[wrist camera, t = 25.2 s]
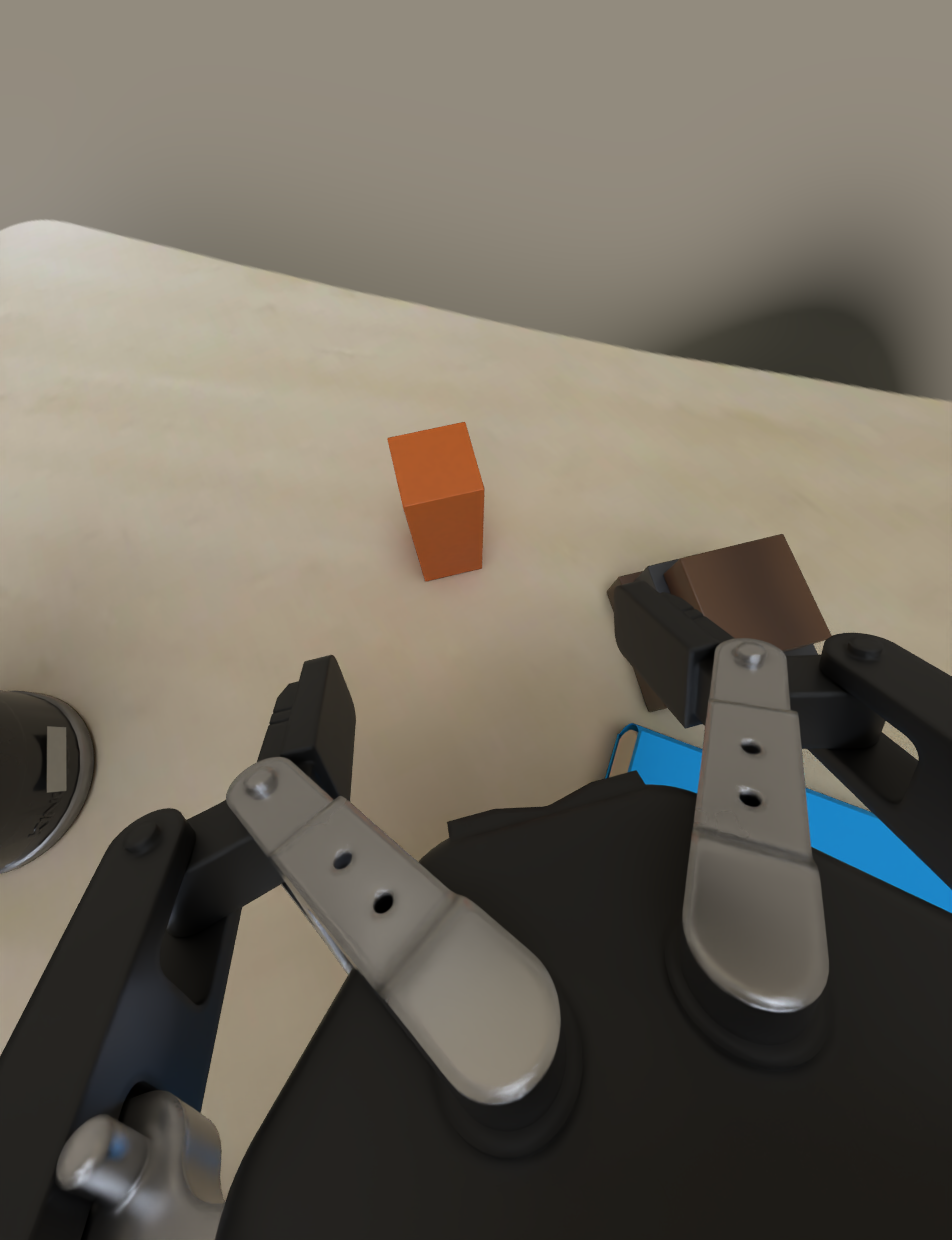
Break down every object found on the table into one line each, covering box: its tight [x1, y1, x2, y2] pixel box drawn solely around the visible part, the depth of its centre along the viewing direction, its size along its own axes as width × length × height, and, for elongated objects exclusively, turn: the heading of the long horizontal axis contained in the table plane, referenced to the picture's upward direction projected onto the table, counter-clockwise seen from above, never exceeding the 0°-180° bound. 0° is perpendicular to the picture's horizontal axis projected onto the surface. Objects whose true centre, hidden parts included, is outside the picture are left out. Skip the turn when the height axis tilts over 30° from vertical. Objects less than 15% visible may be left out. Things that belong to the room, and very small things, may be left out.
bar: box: [388, 422, 484, 581], centre depth 25 cm, size 4×4×9 cm
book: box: [605, 723, 952, 913], centre depth 21 cm, size 17×4×25 cm
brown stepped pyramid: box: [607, 534, 831, 712], centre depth 24 cm, size 8×8×7 cm
